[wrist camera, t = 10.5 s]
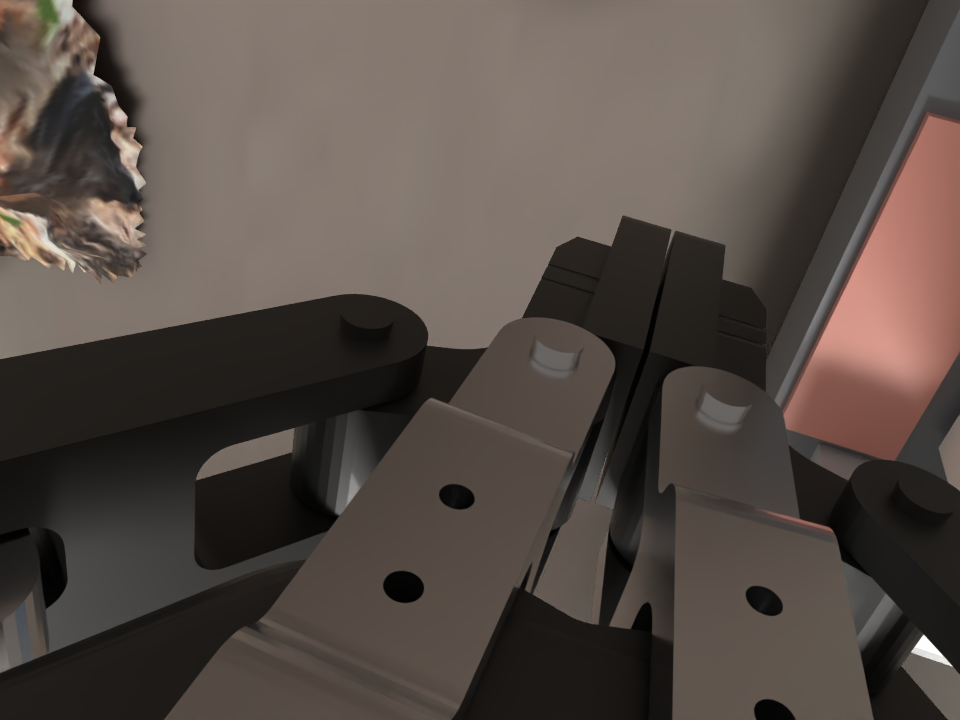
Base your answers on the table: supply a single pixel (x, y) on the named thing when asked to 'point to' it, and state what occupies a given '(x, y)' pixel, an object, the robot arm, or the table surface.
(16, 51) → the plant with pod
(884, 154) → the switch panel
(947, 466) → the white rectangular block
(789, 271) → the table surface
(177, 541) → the robot arm
